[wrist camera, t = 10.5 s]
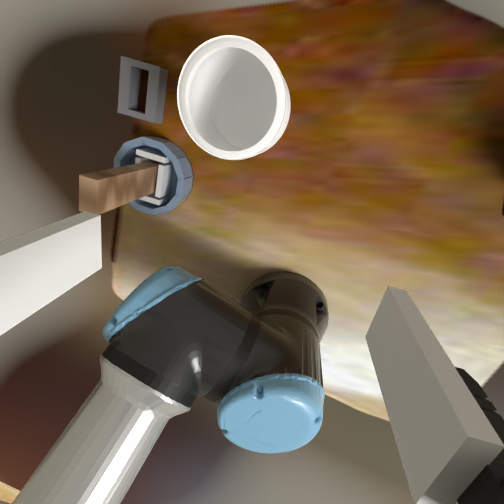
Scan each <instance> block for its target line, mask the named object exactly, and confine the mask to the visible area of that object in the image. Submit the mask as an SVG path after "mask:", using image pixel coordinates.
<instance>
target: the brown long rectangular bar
mask: <svg viewBox="0 0 504 504" xmlns="http://www.w3.org/2000/svg"><path fill="white" fill-rule="evenodd" d="M159 164H163V163H160V162H156V161H148V162H143V163H138V164H133V165H127V166H122V167H117V168H112V169H107V170H102V171H97V172H92V173H87V174H81V175H79V211H81V212H85V211H86V212H90V213H94V214H98V215H100V214H102V213H105V212H107V211H110V210H112V209H115V208H117V207H120V206H122V205H125V204H127V203H129V202H132V201H134V200H137V199H139V198H142V197H144V196H147V195H149V194H152V193H154V192H156V184H157V176H158V168H159Z"/></svg>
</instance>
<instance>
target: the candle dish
mask: <svg viewBox="0 0 504 504" xmlns="http://www.w3.org/2000/svg"><path fill="white" fill-rule="evenodd" d="M148 161H156V162H160V163H163V164H159V168H158V176H157V184H156V192H154V193H152V194H149V195H147V196H144V197H142V198H139V199H137V200H134V201H132V202H129V204H130V205H131V206H132V207H133V208H134V209H135V210H137V211H140V212H143V213H146V214H150V215H158V214H162V213H166V212H170V211H172V210H173V209H175V208H177V207H178V206H179V205H180V204H181V203H182V202H184V201H185V200H186V198H187V197H188V196H189V194H190V192H191V189H192V186H193V170H192V166H191V164H190V161H189V159H188V157H187V156H186V154H185V153H184V152H183V150H182V149H181V148H180V147H179V146H178V145H176V144H175V143H173V142H171V141H169V140H167V139H164V138H157V137H154V136H147V137H139V138H136V139H133V140H130V141H127V142H125V143H124V144H123V145H122V147H121V148H120V150H119V151H118V153H117V154H116V155H115V158H114V167H113V168H117V167H122V166H127V165H133V164H138V163H143V162H148Z"/></svg>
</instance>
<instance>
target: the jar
mask: <svg viewBox="0 0 504 504" xmlns="http://www.w3.org/2000/svg"><path fill="white" fill-rule="evenodd" d="M177 103H178V109H179V114H180V117H181V120H182V123H183V125H184V127H185V129H186V131H187V132H188V134H189V135H190V137H191V138H192V139H193V141H194V142H195V143H196V144H197V145H198V146H199V147H201V148H202V149H203V150H205V151H206V152H208V153H209V154H211V155H213V156H216V157H218V158H222V159H227V160H242V159H247V158H250V157H253V156H255V155H257V154H260V153H262V152H264V151H266V150H268V149H269V148H271V147H272V146H273V145H274V144H275V143H276V142H277V141H278V140H279V139H280V137H281V136H282V134H283V133H284V131H285V129H286V127H287V124H288V121H289V116H290V95H289V90H288V87H287V84H286V82H285V79H284V77H283V76H282V74H281V71H280V69H279V67H278V66H277V64H276V62H275V61H274V60H273V58H272V57H271V56H270V55H269V53H268V52H267V51H266V50H265V49H263V48H262V47H261V46H260V45H258V44H257V43H255V42H253V41H251V40H249V39H247V38H244V37H240V36H234V35H225V36H219V37H215V38H212V39H210V40H208V41H206V42H204V43H203V44H201V45H200V46H199V47H198V48H196V49H195V50H194V51H193V52H192V54H191V55H190V56H189V58H188V59H187V61H186V62H185V64H184V66H183V68H182V71H181V74H180V77H179V81H178V88H177Z"/></svg>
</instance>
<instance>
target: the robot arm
mask: <svg viewBox="0 0 504 504" xmlns="http://www.w3.org/2000/svg"><path fill="white" fill-rule="evenodd" d="M100 268H102V250H101V216H100V215H98V214H94V213H90V212H86V211H85V212H82V213H80V214H77V215H74V216H71V217H68V218H66V219H63V220H60V221H57V222H55V223H52V224H49V225H47V226H44V227H41V228H38V229H35V230H32V231H30V232H27V233H24V234H21V235H19V236H16V237H13V238H10V239H8V240H5V241H2V242H0V335H2V334H3V333H4V332H6V331H8V330H9V329H11V328H12V327H14V326H15V325H17V324H18V323H20V322H21V321H22V320H24V319H26V318H27V317H29V316H30V315H32V314H33V313H35V312H36V311H38V310H39V309H41V308H42V307H44V306H45V305H47V304H48V303H50V302H51V301H53V300H54V299H56V298H57V297H58V296H60V295H62V294H63V293H65V292H66V291H68V290H69V289H71V288H72V287H74V286H75V285H76V284H78V283H80V282H81V281H83V280H84V279H86V278H87V277H89V276H90V275H92V274H93V273H94V272H96V271H97V270H99V269H100ZM327 324H328V307H327V302H326V299H325V296H324V295H323V293H322V291H321V290H320V289H319V288H318V286H317V285H315V284H314V283H313V282H312V281H310V280H309V279H307V278H305V277H303V276H301V275H298V274H295V273H290V272H275V273H270V274H267V275H264V276H262V277H260V278H259V279H257V280H256V281H254V282H253V283H252V284H251V285H250V287H249V288H248V289H247V291H246V293H245V296H244V298H243V301H242V305H241V304H239V303H238V302H236V301H235V300H233V299H231V298H230V297H228V296H227V295H225V294H224V293H222V292H220V291H219V290H217V289H216V288H214V287H213V286H211V285H209V284H208V283H206V282H205V281H204V279H203V278H201V277H197V276H195V275H193V274H191V273H190V272H188V271H186V270H184V269H182V268H181V267H178V266H166V267H163V268H161V269H160V270H158V271H156V272H155V273H153V274H152V275H151V276H149V277H148V278H147V279H146V280H144V281H143V282H142V283H141V284H140V285H139V286H138V287H137V288H136V289H135V290H134V291H133V292H132V293H131V294H130V295H129V296H128V297H127V298H126V299H125V300H124V301H123V302H122V303H121V305H120V306H119V307H118V308H117V309H116V311H115V312H114V315H113V316H112V317H111V318H110V320H108V322H107V323H106V325H105V327H104V329H103V336H104V337H105V340H106V341H107V342H111V343H110V344H109V346H108V347H107V348H106V350H105V351H104V353H103V354H102V355H101V357H100V363H101V371H102V377H101V380H100V382H99V383H98V385H97V386H96V388H95V389H94V390H93V391H92V393H91V394H90V396H89V397H88V398H87V400H86V401H85V403H84V404H83V405H82V407H81V408H80V410H79V411H78V412H77V414H76V415H75V416H74V418H73V419H72V421H71V422H70V423H69V425H68V426H67V428H66V429H65V430H64V432H63V433H62V435H61V436H60V437H59V439H58V440H57V441H56V443H55V444H54V446H53V447H52V448H51V450H50V451H49V453H48V454H47V455H46V457H45V458H44V460H43V461H42V462H41V464H40V465H39V466H38V468H37V469H36V471H35V472H34V473H33V475H32V476H31V478H30V479H29V480H28V482H27V483H26V485H25V486H24V487H23V489H22V490H21V491H20V493H19V494H18V496H17V497H16V498H15V500H14V501H13V503H12V504H120V503H121V501H122V500H123V498H124V496H125V494H126V492H127V491H128V489H129V487H130V486H131V484H132V482H133V480H134V479H135V477H136V475H137V473H138V472H139V470H140V468H141V467H142V465H143V463H144V461H145V460H146V458H147V456H148V454H149V453H150V451H151V449H152V447H153V445H154V444H155V442H156V440H157V439H158V437H159V435H160V433H161V432H162V430H163V428H164V427H165V425H166V423H167V421H168V420H169V419H170V418H172V417H173V416H176V415H178V414H181V413H184V412H187V411H189V410H190V408H191V407H192V405H193V403H194V401H195V399H196V398H197V396H198V395H201V396H202V397H205V398H206V399H208V400H209V401H211V402H213V403H214V404H216V405H217V406H219V407H218V409H217V414H218V415H217V417H218V425H219V427H220V428H221V429H222V433H223V434H224V435H225V436H226V438H227V439H229V440H230V441H232V442H233V443H234V444H236V445H238V446H240V447H242V448H244V449H247V450H251V451H254V452H260V453H278V452H288V451H292V450H295V449H297V448H300V447H302V446H303V445H305V444H307V443H308V442H309V441H310V440H312V439H313V438H314V436H315V435H316V434H317V433H318V431H319V429H320V427H321V424H322V419H323V401H324V396H325V395H324V390H323V379H322V367H321V356H320V344H319V343H320V341H321V339H322V337H323V335H324V333H325V330H326V328H327ZM366 340H367V344H368V347H369V351H370V354H371V358H372V361H373V364H374V368H375V371H376V375H377V378H378V382H379V385H380V388H381V392H382V395H383V399H384V402H385V406H386V409H387V412H388V416H389V419H390V423H391V426H392V430H393V433H394V436H395V440H396V443H397V446H398V450H399V454H400V457H401V460H402V464H403V467H404V471H405V474H406V478H407V481H408V484H409V488H410V491H411V495H412V498H413V502H414V504H456V503H457V502H458V504H504V420H503V418H502V417H501V416H500V415H499V414H497V412H498V411H497V410H496V408H495V407H494V406H493V404H492V402H490V401H489V398H488V397H487V396H486V394H485V392H484V391H483V389H482V388H481V386H480V385H479V384H478V383H477V382H476V381H475V380H474V379H473V378H472V377H471V376H470V375H469V374H468V373H467V372H466V371H465V370H464V369H461V368H457V367H454V365H453V364H452V362H451V360H450V359H449V357H448V356H447V354H446V353H445V351H444V349H443V348H442V346H441V345H440V343H439V342H438V340H437V338H436V337H435V335H434V334H433V332H432V330H431V329H430V327H429V326H428V324H427V323H426V321H425V319H424V318H423V316H422V315H421V313H420V312H419V310H418V308H417V307H416V305H415V304H414V302H413V301H412V299H411V297H410V296H409V294H408V293H407V291H405V290H401V289H397V288H393V287H389V286H388V287H387V290H386V292H385V294H384V296H383V299H382V301H381V303H380V305H379V307H378V310H377V312H376V314H375V316H374V319H373V321H372V323H371V325H370V328H369V330H368V332H367V334H366Z"/></svg>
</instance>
